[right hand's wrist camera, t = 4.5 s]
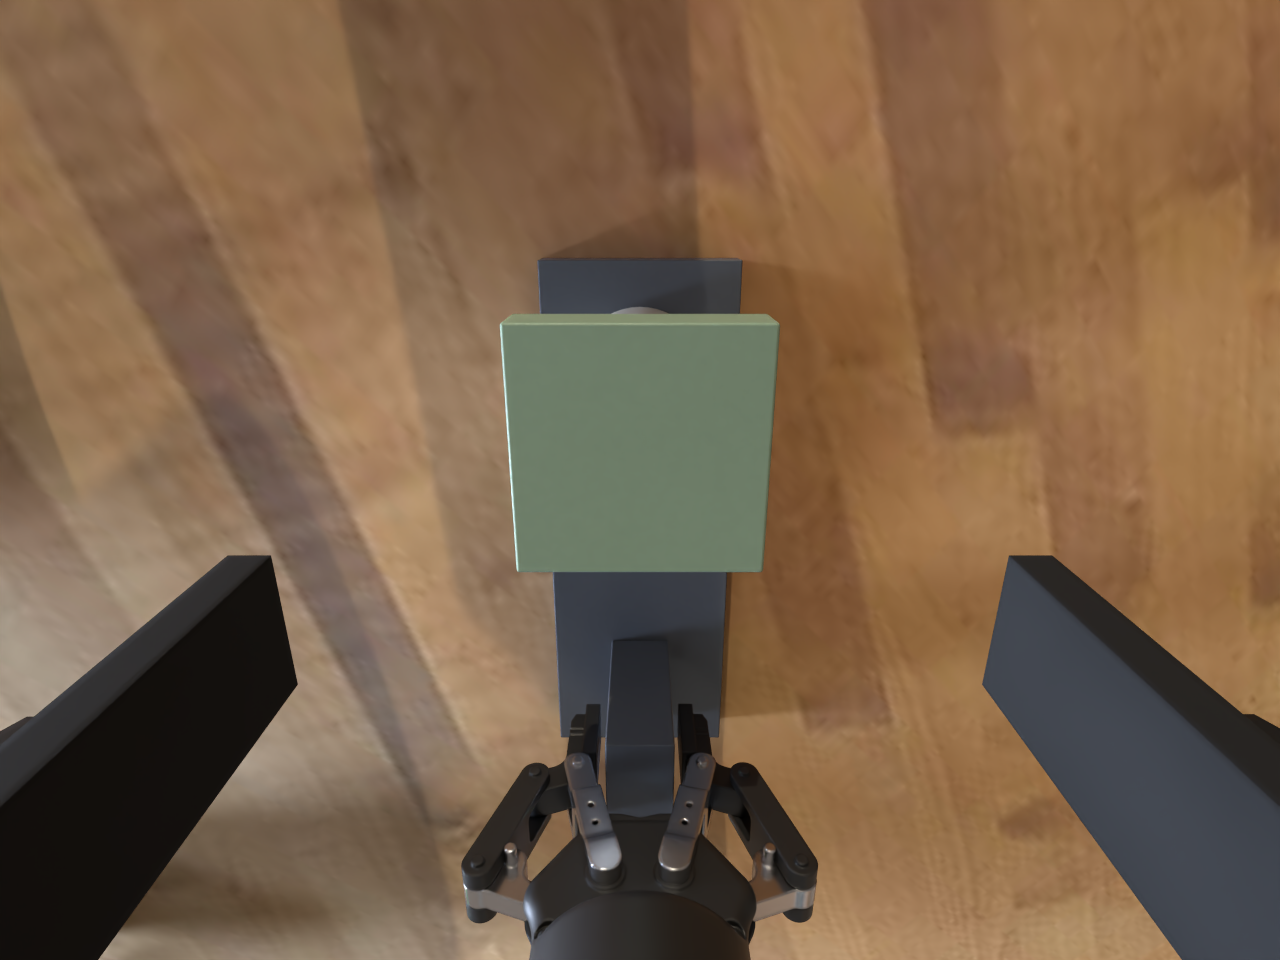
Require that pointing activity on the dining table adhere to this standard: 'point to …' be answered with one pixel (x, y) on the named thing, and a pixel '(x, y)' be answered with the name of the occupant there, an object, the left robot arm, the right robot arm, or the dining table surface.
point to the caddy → (639, 601)
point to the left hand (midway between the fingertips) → (639, 718)
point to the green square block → (639, 440)
